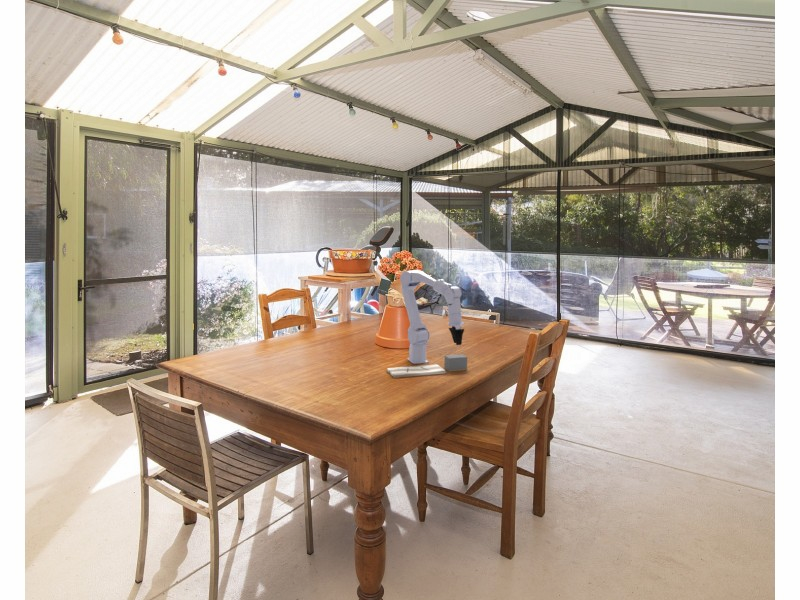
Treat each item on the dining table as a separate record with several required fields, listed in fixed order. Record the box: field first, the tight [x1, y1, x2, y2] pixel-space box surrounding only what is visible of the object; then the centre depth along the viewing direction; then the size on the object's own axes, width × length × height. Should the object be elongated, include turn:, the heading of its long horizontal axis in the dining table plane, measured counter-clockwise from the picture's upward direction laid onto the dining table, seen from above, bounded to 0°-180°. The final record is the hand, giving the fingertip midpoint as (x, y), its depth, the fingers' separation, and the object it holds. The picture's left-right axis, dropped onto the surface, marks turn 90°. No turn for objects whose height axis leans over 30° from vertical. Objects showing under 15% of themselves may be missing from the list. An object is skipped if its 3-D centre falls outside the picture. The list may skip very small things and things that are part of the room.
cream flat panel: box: [386, 363, 447, 379], centre depth 219 cm, size 11×24×1 cm, turn 107°
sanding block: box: [443, 353, 468, 372], centre depth 224 cm, size 5×9×6 cm, turn 107°
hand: (457, 343), depth 219 cm, fingers open, 7 cm apart
